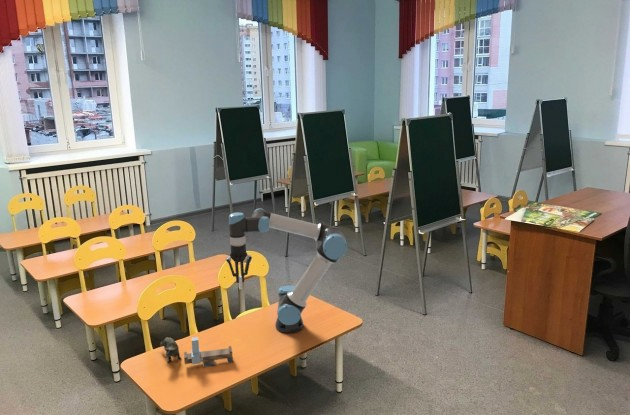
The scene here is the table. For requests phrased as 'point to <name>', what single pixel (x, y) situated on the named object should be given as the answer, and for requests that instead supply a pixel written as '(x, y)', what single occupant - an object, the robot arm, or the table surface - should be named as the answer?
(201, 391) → the table surface
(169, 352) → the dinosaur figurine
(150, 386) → the table surface
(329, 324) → the table surface
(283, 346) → the table surface
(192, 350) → the rider
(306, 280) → the robot arm
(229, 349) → the beam
